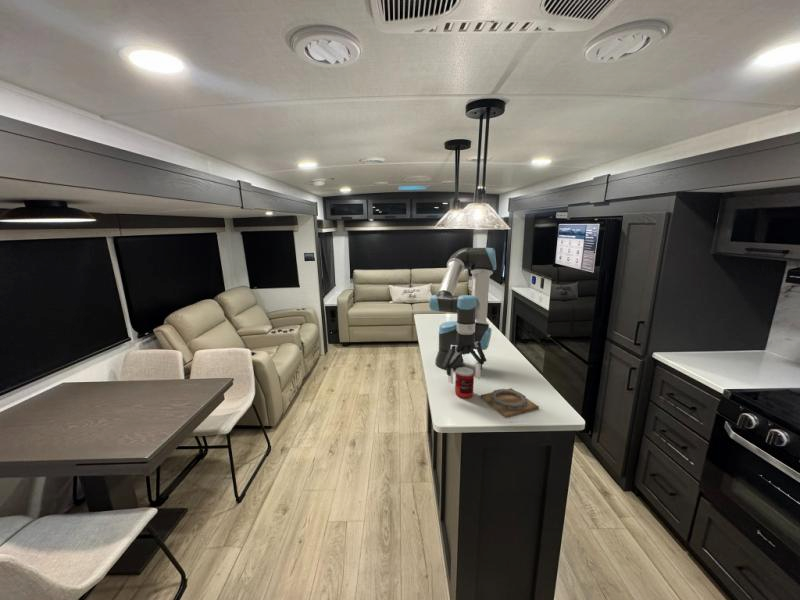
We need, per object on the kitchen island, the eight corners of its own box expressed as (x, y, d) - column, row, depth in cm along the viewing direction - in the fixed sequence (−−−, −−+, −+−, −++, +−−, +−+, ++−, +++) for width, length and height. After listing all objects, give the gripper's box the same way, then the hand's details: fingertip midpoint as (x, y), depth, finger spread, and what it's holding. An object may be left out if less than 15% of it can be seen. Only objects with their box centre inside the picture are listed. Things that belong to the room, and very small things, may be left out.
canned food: (462, 388, 137) (463, 365, 135) (477, 394, 131) (477, 371, 129) (451, 393, 132) (451, 370, 130) (465, 400, 126) (466, 376, 124)
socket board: (480, 397, 128) (480, 391, 128) (511, 390, 134) (511, 385, 133) (505, 417, 114) (505, 411, 113) (538, 409, 119) (539, 402, 118)
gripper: (443, 338, 118) (442, 388, 122) (496, 331, 127) (493, 378, 130) (435, 333, 125) (434, 380, 129) (485, 327, 134) (483, 372, 137)
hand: (464, 379), depth 130 cm, fingers open, 13 cm apart
